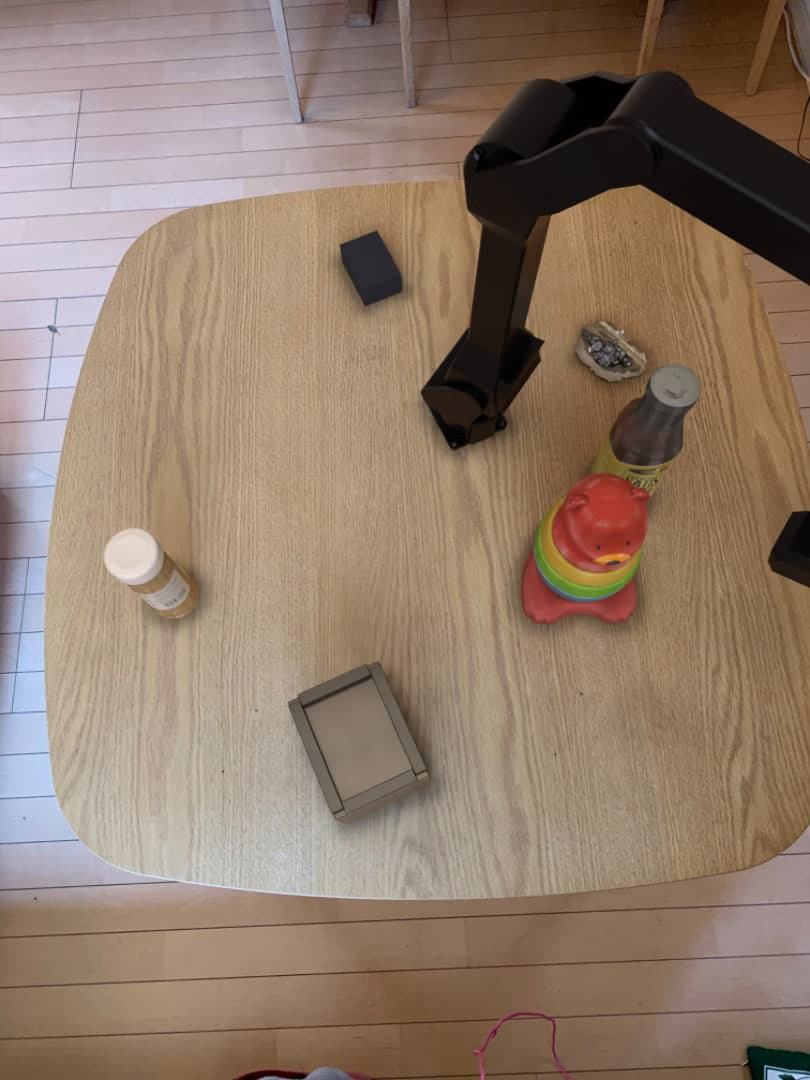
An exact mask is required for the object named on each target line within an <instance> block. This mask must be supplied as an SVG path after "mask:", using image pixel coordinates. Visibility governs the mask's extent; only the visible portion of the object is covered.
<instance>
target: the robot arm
mask: <svg viewBox="0 0 810 1080" xmlns="http://www.w3.org/2000/svg"><path fill="white" fill-rule="evenodd" d="M462 177H463V184H464V195H465V205H466V209H467V212H468V213H469V214H470V215H471V216H472V217H473V218H474V219H476V220H477V221H478V222H479V224H481V231H480V240H479V247H478V254H477V264H476V271H475V278H474V287H473V295H472V302H471V308H470V318H469V326H467V328H465V331H464V332H463V333H462V335H461V336H460V337H459V338H458V340H457V341H456V342H455V344H454V345H453V346H452V348H451V349H450V350H449V352H448V353H447V355H446V356H445V357H444V359H442V361H441V363H440V364H439V366H438V367H437V368H436V370H434V372H433V374H432V375H431V376H430V378H429V379H428V380H427V381H426V383H425V384H424V385H423V387H422V388H421V390H420V395H421V397H422V399H423V402H424V403H425V405H426V406H427V408H428V409H429V411H430V413H431V415H432V416H433V419H434V421H435V423H436V425H437V427H438V428H439V430H440V432H441V434H442V436H443V438H444V440H445V442H446V444H447V445H448V448H449V449H450V450H452V451H457V450H459V449H462V448H464V447H466V446H469V445H471V446H473V445H476V444H478V443H480V442H483V441H485V440H487V439H490V438H492V437H494V436H495V434H497V433H499V432H501V431H504V430H506V429H507V427H508V420H507V419H506V417H505V415H504V414H505V413H506V412H507V410H508V409H509V408H510V407H511V405H512V403H513V402H514V401H515V399H516V398H517V396H518V395H519V394H520V392H521V390H522V389H523V387H524V386H525V385H526V383H527V382H528V380H529V379H530V377H531V376H532V375H533V374H534V372H535V371H536V369H537V368H538V367H539V365H540V363H541V362H542V357H541V349H542V347H543V345H544V344H545V342H546V341H545V340H544V339H542V338H539V337H537V336H535V335H534V333H533V332H532V331H531V330H530V329H528V328H527V327H526V323H527V319H528V315H529V311H530V307H531V302H532V298H533V294H534V291H535V287H536V281H537V277H538V273H539V268H540V265H541V262H542V257H543V252H544V248H545V243H546V240H547V236H548V231H549V227H550V223H551V219H552V216H553V215H557V214H560V213H562V212H564V211H566V210H569V209H571V208H573V207H575V206H577V205H579V204H581V203H583V202H586V201H588V200H590V199H593V198H594V197H597V196H599V195H602V194H603V193H605V192H607V191H610V190H614V189H616V190H617V189H621V188H623V189H624V188H630V187H637V186H642V187H644V188H645V189H647V190H648V191H650V192H652V193H653V194H655V195H657V196H658V197H660V198H661V199H664V200H665V201H667V202H669V203H671V204H672V205H674V206H675V207H677V208H678V209H680V210H682V211H684V212H685V213H687V214H689V215H690V216H692V217H694V218H695V219H697V220H698V221H700V222H701V223H704V224H705V225H707V226H709V227H710V228H712V229H714V230H715V231H716V232H719V233H721V234H722V235H723V236H726V237H727V238H728V239H731V240H732V241H733V242H736V243H737V244H739V245H741V246H742V247H744V248H745V249H747V250H748V251H750V252H752V253H754V254H755V255H757V256H759V257H760V258H762V259H764V260H765V261H767V262H769V263H770V264H772V265H774V266H776V267H777V268H779V269H780V270H782V271H784V272H786V273H787V274H789V275H791V276H792V277H793V278H796V280H799V281H800V282H802V283H803V284H806V285H807V286H808V287H810V162H809V161H807V160H805V159H804V158H802V157H800V156H799V155H797V154H795V153H794V152H791V151H790V150H788V149H786V147H783V146H782V145H780V144H778V143H777V142H775V141H773V140H771V139H769V138H768V137H766V136H764V135H763V134H761V133H759V132H757V131H756V130H754V129H752V128H751V127H749V126H747V125H746V124H744V123H742V122H740V121H738V120H737V119H735V118H733V117H732V116H730V115H728V114H727V113H725V112H723V111H722V110H720V109H718V108H716V107H715V106H713V105H712V104H709V103H708V102H706V101H705V100H703V99H701V98H699V97H697V96H696V93H695V91H694V90H693V88H692V86H691V85H690V82H688V81H687V80H686V79H685V78H683V77H682V76H681V75H680V74H679V73H675V72H674V71H670V70H653V71H649V72H645V73H642V74H637V75H633V76H629V77H628V76H625V75H621V74H617V73H615V72H611V71H607V70H604V69H600V70H594V71H591V72H587V73H583V74H580V75H576V76H572V77H569V78H565V79H561V80H554V79H552V78H534V79H531V80H526V81H525V82H524V83H523V85H521V86H520V88H519V89H518V91H517V92H516V93H515V94H514V96H513V97H512V98H511V99H510V101H508V103H507V104H506V106H505V107H504V108H503V109H502V110H501V111H500V113H499V114H498V115H497V117H496V118H495V119H494V120H493V122H492V123H491V124H490V125H489V127H488V128H487V129H486V130H485V131H484V132H483V134H482V135H481V136H480V137H479V139H478V140H477V142H476V143H475V144H474V145H473V146H472V148H471V149H470V150H469V151H468V153H467V154H466V155H465V157H464V160H463V162H462ZM453 444H455V445H453ZM768 555H769V556H768V558H767V564H768V566H769V569H770V571H771V572H772V573H775V574H776V575H779V576H781V577H784V578H786V579H788V580H791V581H793V582H795V583H797V584H800V585H801V586H804V587H806V588H809V589H810V510H798V511H792V512H791V513H790V515H789V517H788V519H787V521H786V522H785V525H784V526H783V528H782V529H781V531H780V534H779V535H778V537H777V538H776V541H775V542H774V544H773V546H772V548H771V549H770V552H769V554H768Z"/></svg>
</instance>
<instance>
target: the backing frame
mask: <svg viewBox="0 0 810 1080" xmlns="http://www.w3.org/2000/svg"><path fill="white" fill-rule="evenodd" d="M287 704H288V705H287V707H288V709H289V712H290V714H291V717H292V719H293V723H294V724H295V727H296V729H297V732H298V734H299V737H300V739H301V742H302V745H303V747H304V748H305V752H306V755H307V757H308V759H309V762H310V764H311V767H312V770H313V771H314V775H315V777H316V779H317V782H318V785H319V787H320V789H321V792H322V794H323V797H324V800H325V802H326V804H327V807H328V809H329V811H330V814H331V815H332V817H333V819H334V820H335V821H336V822H339V823H342V824H346V825H350V824H351V823H354V822H356V821H358V820H360V819H362V818H365V817H366V816H368V815H369V816H370V815H371V814H373V813H374V812H376V811H379V810H381V809H383V808H385V807H388V806H389V805H392V804H394V803H396V802H398V801H400V800H403V799H405V798H407V797H408V796H410V795H413V794H416V793H417V792H419V791H421V790H424V789H426V788H428V787H430V786H431V778H430V773H429V770H428V768H427V765H426V764H425V761H424V758H423V757H422V754H421V752H420V749H419V747H418V745H417V743H416V741H415V738H414V736H413V734H412V731H411V729H410V727H409V725H408V723H407V720H406V719H405V716H404V714H403V711H402V710H401V707H400V705H399V703H398V700H397V698H396V696H395V694H394V691H393V689H392V687H391V685H390V683H389V680H388V679H387V675H386V674H385V671H384V669H383V667H382V665H381V664H380V661H375V662H373V663H371V664H367V663H364V664H361V665H360V666H357V667H355V668H353V669H351V670H349V671H347V672H344V673H341V674H340V675H338V676H335V677H334V678H331V679H328V680H327V681H324V682H322V683H319V684H318V685H316V686H312V687H311V688H308V689H307V690H304V691H302V692H300V693H298V694H297V696H296V698H293V699H291V700H289V701H287Z"/></svg>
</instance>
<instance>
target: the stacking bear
mask: <svg viewBox="0 0 810 1080" xmlns="http://www.w3.org/2000/svg"><path fill="white" fill-rule="evenodd" d="M589 475H590V474H589ZM589 475H587V476H585V477H584V478H581V479H580V480H578V481H577V482H576V483H575V484H574V485H573V486H572V487H571V488H570V490H569V491H568V493H567V494H566V495H565V496H564V497H562V499H560V500H558V502H556V503H555V504H554V505H553V506H552V507H551V508H549V510H548V511H547V512H546V513H545V515H544V516H543V517H542V519H541V521H540V522H539V524H538V525H537V528H536V532H535V536H534V540H533V548H532V550H531V551H530V553H529V555H528V557H527V560H526V562H525V564H524V568H523V571H522V577H521V581H520V582H521V583H520V600H521V601H520V602H521V608H522V612H523V613H524V615H525V616H527V617H529V618H530V619H531V621H532V622H533V623H535V624H537V625H538V624H544V625H546V626H547V625H553V624H556V623H558V622H559V621H560V620H562V619H564V618H566V617H569V616H571V615H577V614H579V615H589V616H592V617H595V618H596V619H598V620H601V621H602V622H604V623H608V624H609V625H611V624H612V625H613V624H616V623H621V624H622V623H625V622H627V621H628V620H629V617H630V616H632V615H633V614H635V612H636V609H637V589H636V583H635V578H634V576H635V574H636V573H637V570H638V568H639V566H640V563H641V559H642V554H643V543H644V541H645V539H646V537H647V532H648V527H649V511H648V507H647V502H649V501H650V500H651V497H650V494H649V492H648V491H647V490H646V489H644V488H640V487H635V486H634V485H633V484H632V483H631V482H629V481H628V480H626V479H624V478H622V477H620V476H617V475H614V474H609V473H598V474H593V475H590V476H589Z"/></svg>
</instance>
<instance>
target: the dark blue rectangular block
mask: <svg viewBox="0 0 810 1080" xmlns="http://www.w3.org/2000/svg"><path fill="white" fill-rule="evenodd" d="M339 250H340V257H341V263H342V265H343V267H344V268H345V271H346V272H347V274H348V277H349V279H350V280H351V282H352V284H353V286H354V288H355V290H356V292H357V294H358V296H359V298H360V300H361V301H362V303H363V305H364V307H367V306H370V305H371V304H372V305H373V304H375V303H377V302H380V301H382V300H384V299H386V298H390V297H392V296H395V295H397V294H400V293H402V292H403V284H402V282H403V281H402V273H401V271H400V270H399V267H398V266H397V264H396V262H395V260H394V259H393V257H392V255H391V252H390V251H389V250H388V247H387V246H386V244H385V242H384V240H383V238H382V236H381V234H380V233H379V231H378V230H375V231H374V230H373V231H371V232H368V233H366V234H363V235H361V236H358V237H356V238H353V239H351V240H348V241H346V242H343V243H341V244H339Z"/></svg>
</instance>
